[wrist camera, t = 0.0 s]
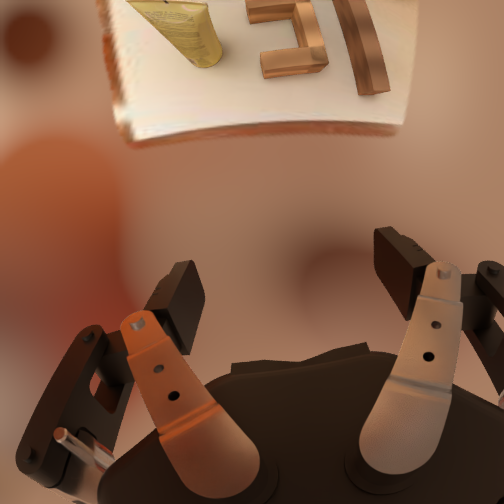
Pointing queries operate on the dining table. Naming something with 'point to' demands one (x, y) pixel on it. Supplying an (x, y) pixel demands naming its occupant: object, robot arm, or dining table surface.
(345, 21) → the wooden plank
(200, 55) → the tube
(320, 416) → the robot arm
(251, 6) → the block
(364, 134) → the dining table surface
